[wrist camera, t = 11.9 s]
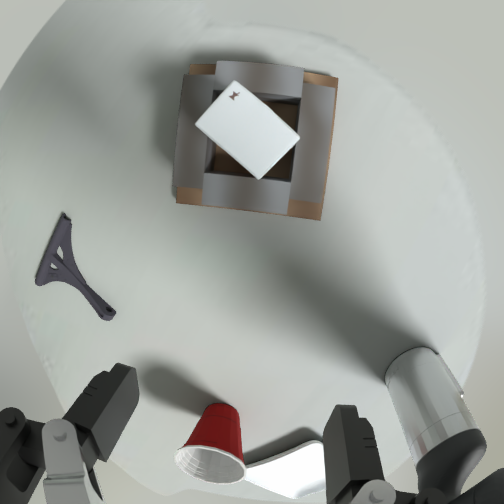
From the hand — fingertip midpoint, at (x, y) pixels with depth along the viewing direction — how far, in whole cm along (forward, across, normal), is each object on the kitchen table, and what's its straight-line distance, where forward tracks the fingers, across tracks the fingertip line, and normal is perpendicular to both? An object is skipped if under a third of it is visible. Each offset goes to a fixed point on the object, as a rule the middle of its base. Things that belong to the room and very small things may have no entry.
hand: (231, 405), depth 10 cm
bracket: (+25, +26, +11) cm, 38 cm away
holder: (+25, +3, -11) cm, 27 cm away
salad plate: (+26, -16, +48) cm, 57 cm away
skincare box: (+24, +2, -11) cm, 26 cm away
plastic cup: (+25, +3, +31) cm, 40 cm away
